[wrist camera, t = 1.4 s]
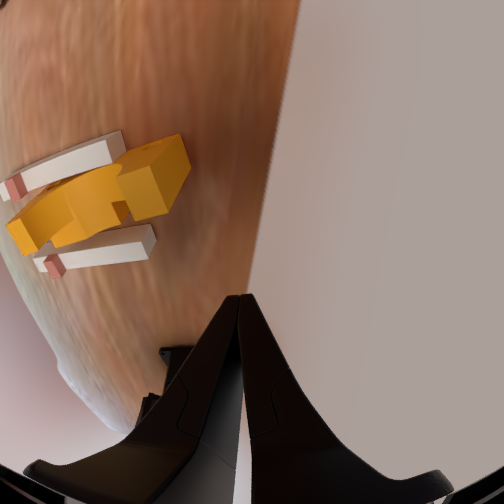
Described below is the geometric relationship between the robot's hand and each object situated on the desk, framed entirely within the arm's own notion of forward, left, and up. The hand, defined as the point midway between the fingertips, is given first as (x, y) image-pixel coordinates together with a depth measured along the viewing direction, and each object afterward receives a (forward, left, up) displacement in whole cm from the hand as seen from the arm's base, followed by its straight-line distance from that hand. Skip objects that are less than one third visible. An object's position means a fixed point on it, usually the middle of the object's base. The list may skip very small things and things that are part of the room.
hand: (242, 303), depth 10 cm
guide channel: (0, +14, -12) cm, 18 cm away
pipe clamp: (+1, +10, -12) cm, 16 cm away
